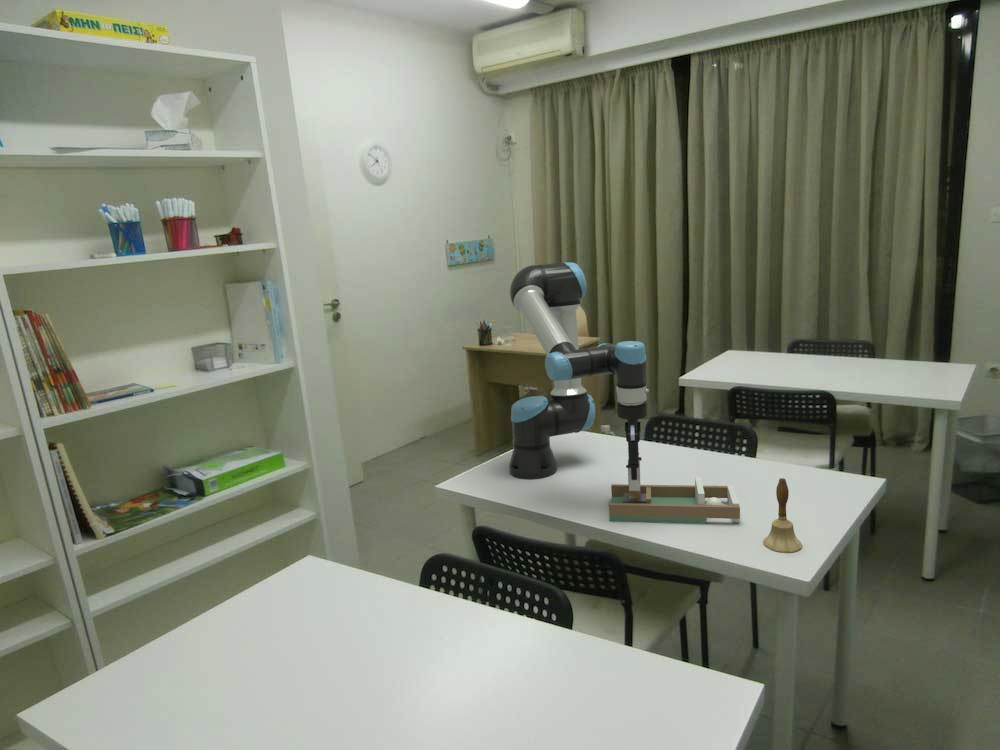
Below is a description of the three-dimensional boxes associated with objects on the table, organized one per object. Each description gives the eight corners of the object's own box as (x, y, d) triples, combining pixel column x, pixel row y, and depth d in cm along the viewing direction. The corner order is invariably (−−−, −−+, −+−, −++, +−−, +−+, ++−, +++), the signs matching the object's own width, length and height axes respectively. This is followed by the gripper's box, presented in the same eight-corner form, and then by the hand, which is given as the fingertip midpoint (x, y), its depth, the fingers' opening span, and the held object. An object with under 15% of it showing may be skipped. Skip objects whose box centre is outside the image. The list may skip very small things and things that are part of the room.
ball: (703, 505, 168) (717, 498, 167) (702, 499, 172) (715, 492, 171) (712, 518, 168) (726, 510, 167) (710, 511, 172) (724, 504, 171)
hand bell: (760, 549, 149) (761, 483, 146) (765, 534, 156) (766, 471, 153) (800, 555, 145) (802, 488, 142) (803, 539, 152) (805, 474, 149)
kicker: (623, 510, 171) (621, 466, 168) (624, 497, 179) (622, 456, 176) (651, 510, 169) (650, 466, 167) (651, 498, 177) (650, 456, 174)
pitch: (609, 521, 169) (608, 493, 168) (612, 499, 183) (611, 474, 181) (739, 524, 162) (739, 496, 161) (732, 501, 175) (732, 475, 174)
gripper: (647, 409, 160) (649, 499, 165) (646, 393, 175) (648, 476, 180) (616, 410, 161) (619, 499, 166) (618, 394, 177) (621, 476, 182)
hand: (634, 487), depth 173 cm, fingers closed on kicker, 3 cm apart
